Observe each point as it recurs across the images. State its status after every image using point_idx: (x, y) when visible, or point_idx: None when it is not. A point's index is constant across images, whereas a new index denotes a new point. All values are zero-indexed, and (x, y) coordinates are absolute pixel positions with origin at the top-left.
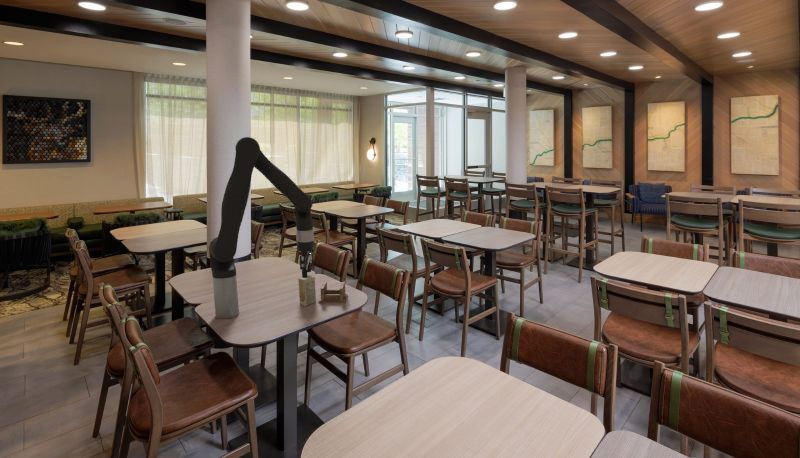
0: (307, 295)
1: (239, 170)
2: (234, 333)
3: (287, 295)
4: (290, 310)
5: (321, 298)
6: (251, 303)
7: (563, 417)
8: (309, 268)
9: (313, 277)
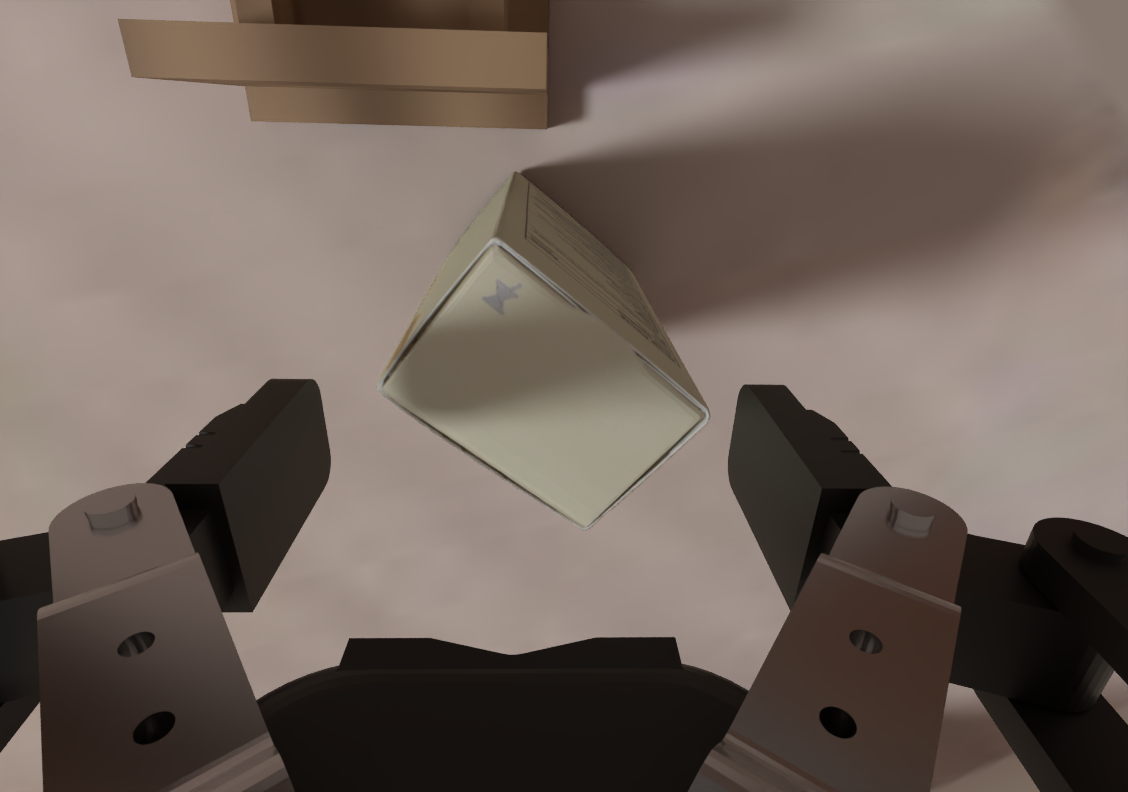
0: (627, 283)
1: None
2: None
3: (332, 510)
4: None
5: (547, 83)
6: None
7: None
8: (283, 449)
9: (524, 259)
